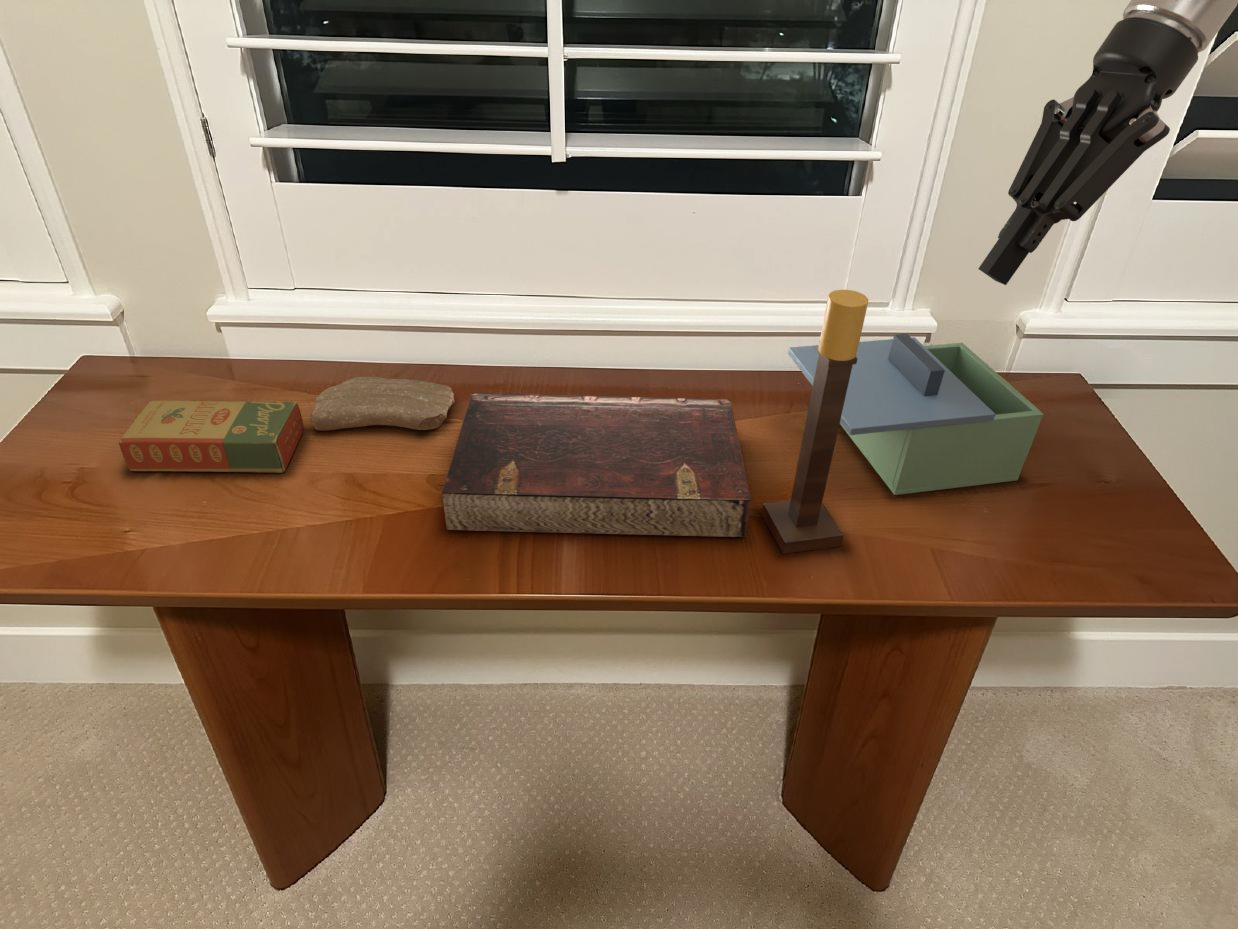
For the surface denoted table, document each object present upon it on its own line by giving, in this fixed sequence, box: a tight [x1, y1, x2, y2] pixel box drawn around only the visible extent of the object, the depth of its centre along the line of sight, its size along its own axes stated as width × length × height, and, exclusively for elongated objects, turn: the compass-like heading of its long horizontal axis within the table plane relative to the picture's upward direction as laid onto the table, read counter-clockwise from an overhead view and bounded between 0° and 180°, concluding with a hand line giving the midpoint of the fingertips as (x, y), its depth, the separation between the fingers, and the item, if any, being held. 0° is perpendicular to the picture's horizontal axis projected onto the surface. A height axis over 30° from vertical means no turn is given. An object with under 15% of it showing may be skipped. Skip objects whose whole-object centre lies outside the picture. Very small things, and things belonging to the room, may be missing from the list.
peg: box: [818, 289, 869, 361], centre depth 69 cm, size 3×3×5 cm
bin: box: [839, 342, 1044, 496], centre depth 92 cm, size 16×15×9 cm
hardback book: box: [441, 392, 752, 538], centre depth 86 cm, size 29×19×5 cm, turn 90°
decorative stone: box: [310, 376, 455, 432], centre depth 96 cm, size 10×16×4 cm, turn 91°
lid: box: [787, 333, 995, 435], centre depth 87 cm, size 17×16×4 cm
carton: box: [118, 400, 305, 474], centre depth 89 cm, size 8×16×4 cm, turn 92°
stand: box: [761, 346, 857, 555], centre depth 76 cm, size 6×6×20 cm
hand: (992, 276), depth 79 cm, fingers closed
